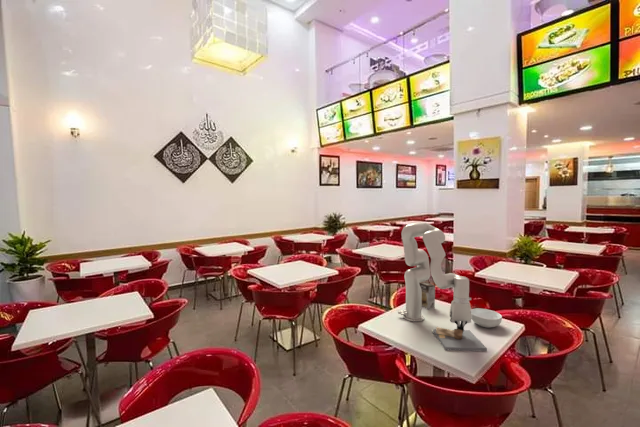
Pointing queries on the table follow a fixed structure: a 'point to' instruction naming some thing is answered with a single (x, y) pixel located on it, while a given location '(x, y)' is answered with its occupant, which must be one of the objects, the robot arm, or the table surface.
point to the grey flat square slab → (461, 342)
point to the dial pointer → (450, 332)
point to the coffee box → (428, 295)
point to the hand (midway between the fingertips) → (460, 332)
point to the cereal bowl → (486, 317)
